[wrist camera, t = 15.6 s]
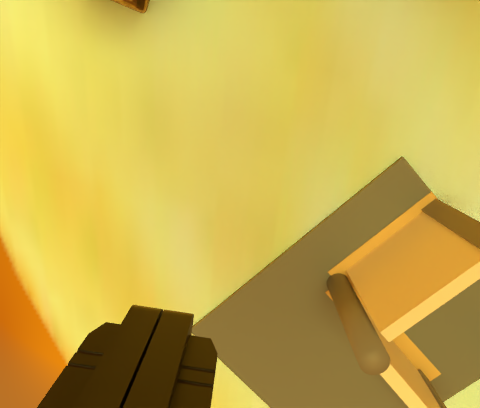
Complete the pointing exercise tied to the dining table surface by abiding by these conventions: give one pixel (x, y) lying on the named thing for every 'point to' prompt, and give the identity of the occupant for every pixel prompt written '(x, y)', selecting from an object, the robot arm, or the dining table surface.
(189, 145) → the dining table surface
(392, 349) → the hinged panel
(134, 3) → the coffee box
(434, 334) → the mat
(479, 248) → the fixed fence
